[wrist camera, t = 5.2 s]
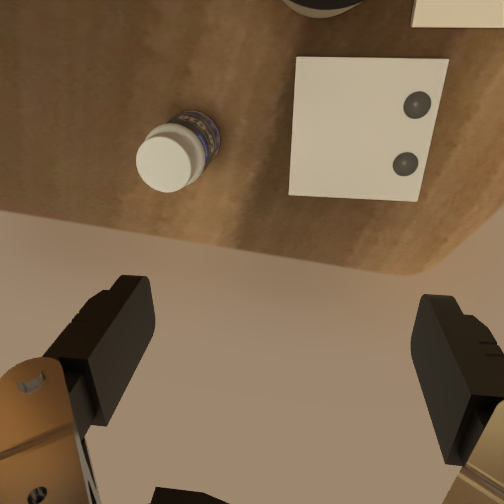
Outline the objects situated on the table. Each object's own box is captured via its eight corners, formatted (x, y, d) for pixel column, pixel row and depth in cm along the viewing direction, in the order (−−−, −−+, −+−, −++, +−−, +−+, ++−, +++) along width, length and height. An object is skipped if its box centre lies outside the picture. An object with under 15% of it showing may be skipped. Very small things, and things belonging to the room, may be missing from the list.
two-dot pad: (296, 56, 31) (296, 56, 30) (445, 58, 29) (449, 59, 29) (289, 191, 36) (288, 195, 35) (415, 198, 35) (417, 202, 34)
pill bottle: (232, 137, 34) (211, 166, 27) (197, 175, 36) (169, 211, 29) (190, 96, 33) (156, 115, 26) (157, 137, 35) (117, 165, 28)
